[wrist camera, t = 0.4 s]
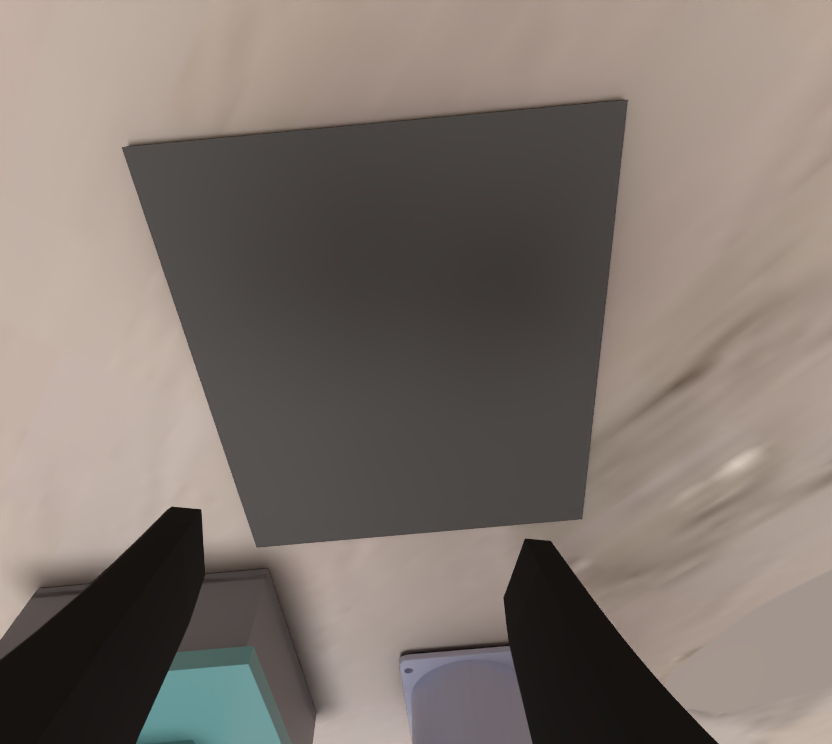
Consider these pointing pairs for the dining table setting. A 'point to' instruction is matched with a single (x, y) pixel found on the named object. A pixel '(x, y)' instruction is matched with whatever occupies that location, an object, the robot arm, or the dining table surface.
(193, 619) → the tub
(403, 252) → the mat
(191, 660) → the lid
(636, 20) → the dining table surface
